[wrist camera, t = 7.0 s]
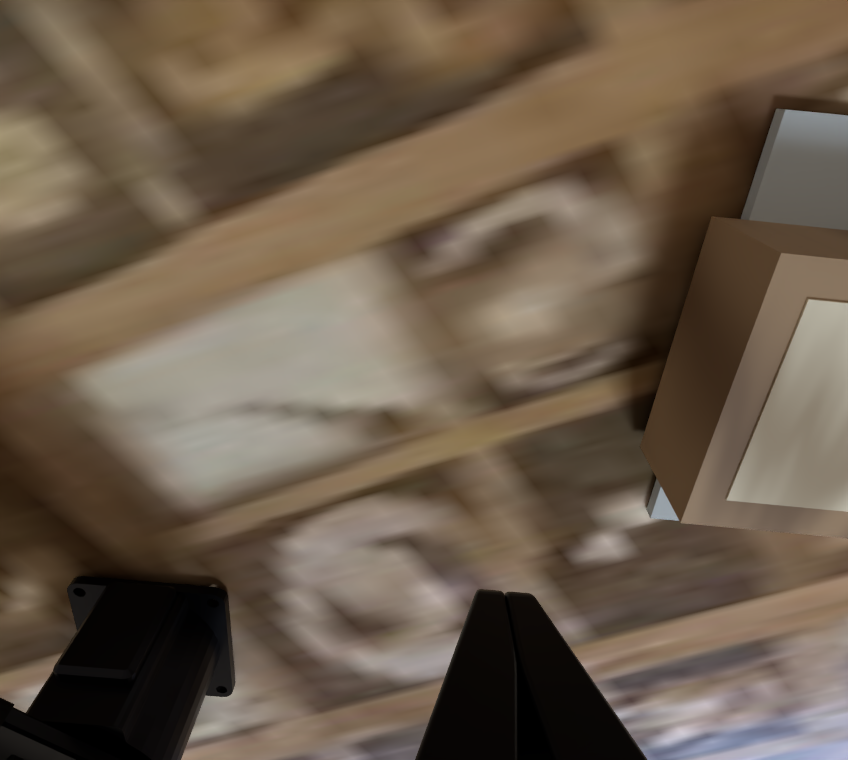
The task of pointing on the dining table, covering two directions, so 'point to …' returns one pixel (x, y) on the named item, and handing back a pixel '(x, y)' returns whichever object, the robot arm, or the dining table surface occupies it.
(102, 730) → the robot arm
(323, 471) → the dining table surface
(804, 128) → the rubber mat
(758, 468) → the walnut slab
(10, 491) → the dining table surface
